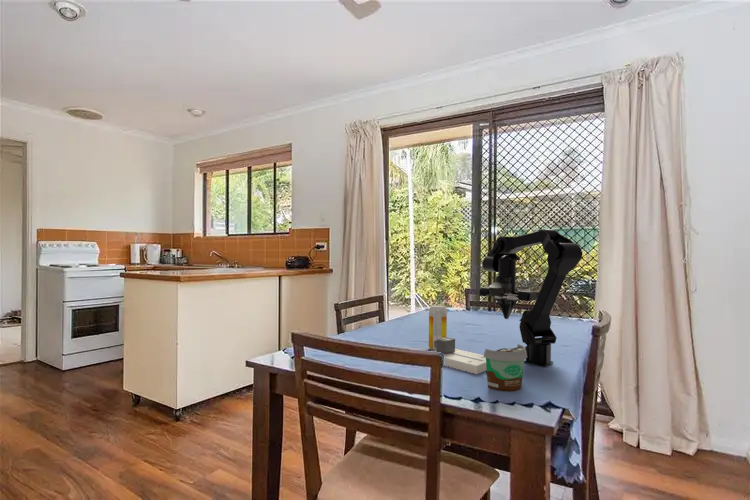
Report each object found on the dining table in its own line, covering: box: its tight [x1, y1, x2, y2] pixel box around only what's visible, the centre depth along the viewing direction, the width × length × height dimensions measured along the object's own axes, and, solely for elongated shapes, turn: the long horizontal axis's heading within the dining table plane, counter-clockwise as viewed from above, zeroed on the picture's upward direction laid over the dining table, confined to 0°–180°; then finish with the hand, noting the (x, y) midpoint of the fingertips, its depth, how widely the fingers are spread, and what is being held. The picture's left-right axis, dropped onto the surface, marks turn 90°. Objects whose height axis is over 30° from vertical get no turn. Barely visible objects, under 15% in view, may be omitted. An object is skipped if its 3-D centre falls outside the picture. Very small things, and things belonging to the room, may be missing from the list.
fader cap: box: [436, 336, 456, 354], centre depth 127 cm, size 4×5×4 cm
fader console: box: [435, 348, 487, 375], centre depth 123 cm, size 18×11×2 cm, turn 44°
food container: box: [483, 343, 527, 393], centre depth 102 cm, size 12×6×10 cm, turn 117°
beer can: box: [428, 304, 448, 352], centre depth 140 cm, size 6×6×15 cm
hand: (506, 318), depth 138 cm, fingers closed
